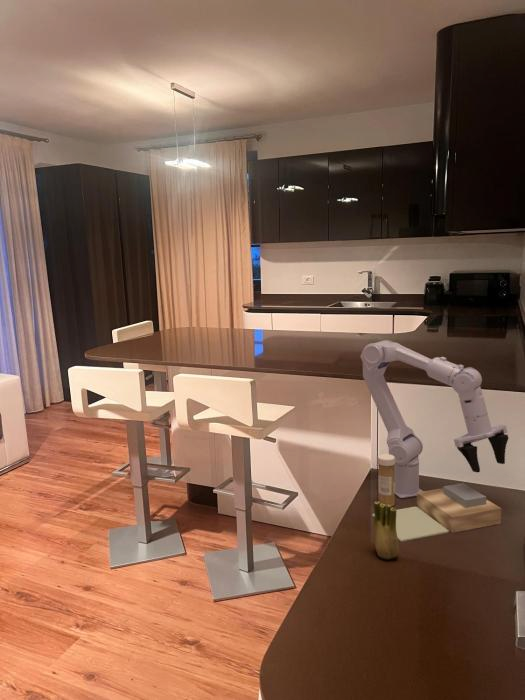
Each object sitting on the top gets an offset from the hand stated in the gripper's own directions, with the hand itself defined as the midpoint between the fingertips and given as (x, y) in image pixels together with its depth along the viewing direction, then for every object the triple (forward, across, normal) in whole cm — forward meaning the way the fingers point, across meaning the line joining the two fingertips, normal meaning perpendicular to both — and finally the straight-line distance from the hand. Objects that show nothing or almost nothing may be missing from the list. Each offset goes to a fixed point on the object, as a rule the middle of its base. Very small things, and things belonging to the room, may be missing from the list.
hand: (488, 467), depth 128 cm
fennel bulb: (+9, -36, -7) cm, 38 cm away
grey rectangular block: (+7, -7, +3) cm, 10 cm away
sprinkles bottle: (+6, -23, +15) cm, 28 cm away
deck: (+10, -10, +4) cm, 15 cm away
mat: (+8, -24, +4) cm, 25 cm away
